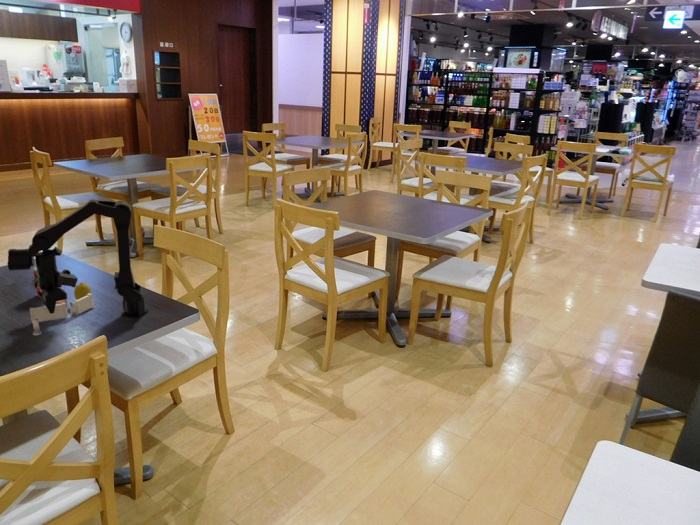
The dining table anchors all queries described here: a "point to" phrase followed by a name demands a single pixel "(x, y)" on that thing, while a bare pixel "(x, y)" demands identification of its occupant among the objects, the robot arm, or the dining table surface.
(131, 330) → the dining table surface
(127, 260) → the robot arm
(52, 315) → the gate
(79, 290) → the lemon
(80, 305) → the fence panel
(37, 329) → the post
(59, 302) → the block
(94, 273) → the dining table surface
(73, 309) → the hinge post
